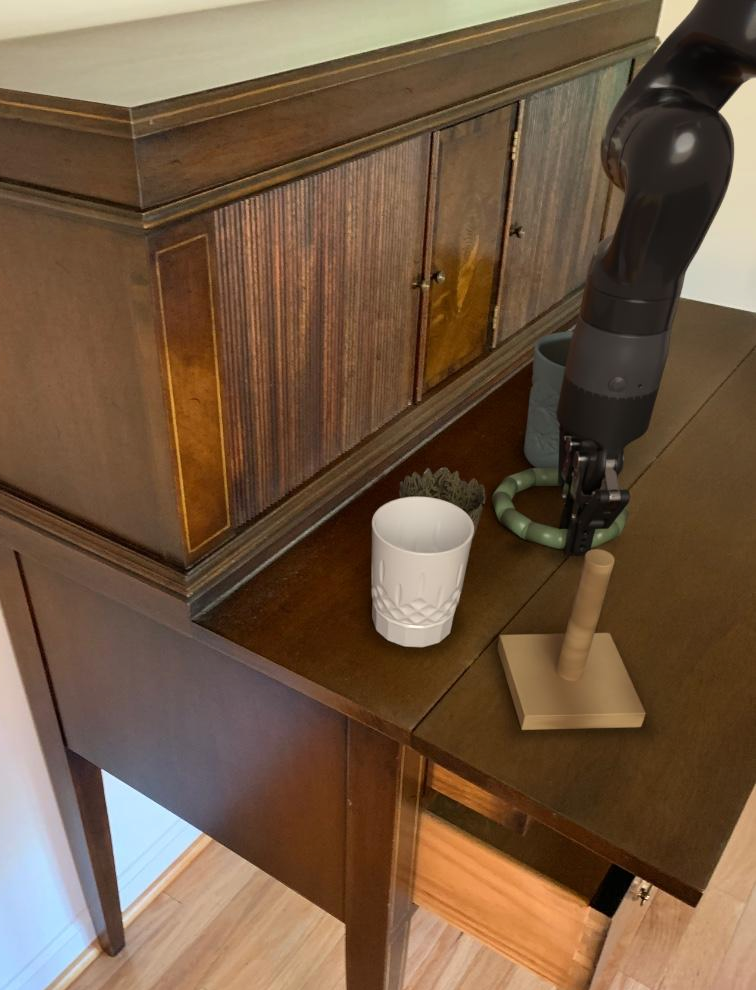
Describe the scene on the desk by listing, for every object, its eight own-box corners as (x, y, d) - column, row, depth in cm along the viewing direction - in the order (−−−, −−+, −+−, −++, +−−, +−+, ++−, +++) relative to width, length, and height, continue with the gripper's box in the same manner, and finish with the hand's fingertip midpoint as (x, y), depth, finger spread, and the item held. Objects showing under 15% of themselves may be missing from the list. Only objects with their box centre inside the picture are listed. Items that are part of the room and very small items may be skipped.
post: (605, 646, 75) (642, 519, 67) (641, 727, 68) (687, 597, 60) (497, 648, 75) (521, 521, 67) (521, 730, 68) (551, 599, 60)
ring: (602, 478, 94) (606, 463, 93) (642, 550, 84) (647, 534, 83) (481, 481, 94) (483, 465, 93) (507, 553, 84) (510, 537, 83)
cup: (491, 564, 84) (504, 490, 78) (439, 600, 80) (449, 524, 74) (428, 530, 88) (436, 457, 83) (376, 562, 84) (381, 488, 79)
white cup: (346, 613, 78) (351, 516, 72) (417, 581, 82) (428, 485, 75) (406, 666, 73) (417, 566, 67) (478, 629, 77) (495, 531, 70)
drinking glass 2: (513, 472, 96) (532, 365, 88) (519, 427, 104) (537, 324, 96) (613, 485, 94) (641, 377, 87) (611, 438, 102) (637, 335, 94)
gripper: (689, 411, 69) (636, 591, 80) (632, 336, 79) (591, 504, 90) (590, 413, 69) (550, 593, 80) (546, 337, 79) (516, 505, 90)
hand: (572, 545), depth 85 cm, fingers closed on ring, 2 cm apart
